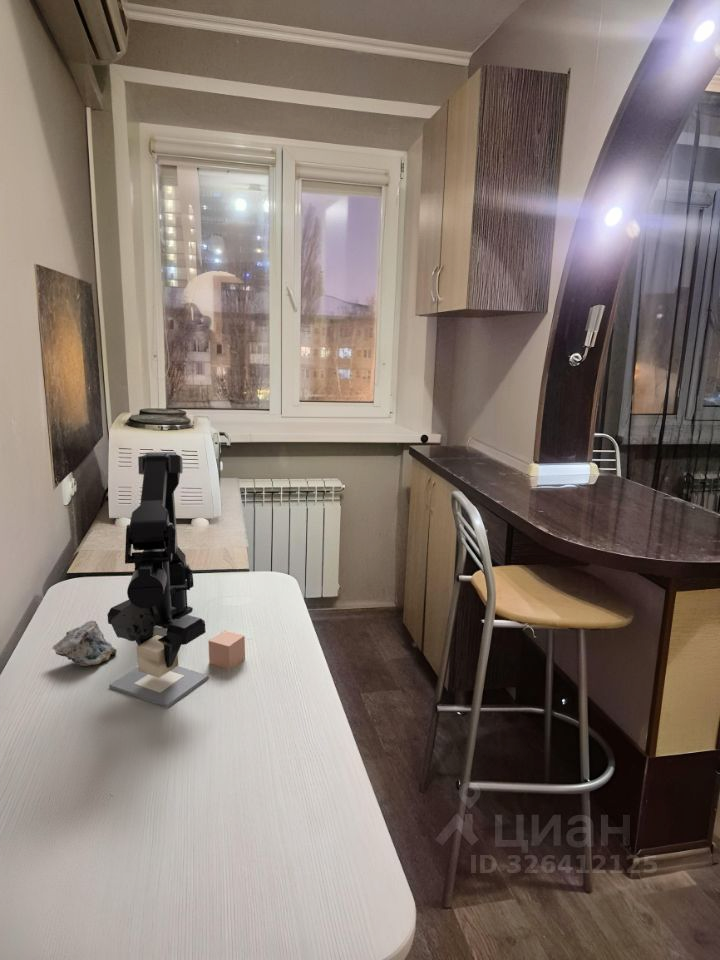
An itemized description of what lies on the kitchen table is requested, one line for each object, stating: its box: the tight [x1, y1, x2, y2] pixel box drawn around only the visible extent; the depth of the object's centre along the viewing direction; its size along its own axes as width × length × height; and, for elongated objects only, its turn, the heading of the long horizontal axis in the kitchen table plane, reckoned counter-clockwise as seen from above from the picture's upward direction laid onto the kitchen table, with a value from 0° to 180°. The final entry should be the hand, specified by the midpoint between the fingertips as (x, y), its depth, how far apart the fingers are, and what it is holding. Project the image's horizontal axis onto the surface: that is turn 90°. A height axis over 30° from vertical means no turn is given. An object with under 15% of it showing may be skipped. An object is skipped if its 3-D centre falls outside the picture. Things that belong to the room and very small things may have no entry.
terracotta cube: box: [207, 630, 246, 670], centre depth 126 cm, size 5×5×5 cm
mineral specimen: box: [52, 619, 118, 667], centre depth 126 cm, size 10×8×10 cm
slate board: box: [108, 665, 209, 709], centre depth 118 cm, size 11×14×1 cm
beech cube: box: [136, 634, 179, 678], centre depth 117 cm, size 5×5×5 cm
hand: (158, 663), depth 117 cm, fingers closed on beech cube, 5 cm apart
